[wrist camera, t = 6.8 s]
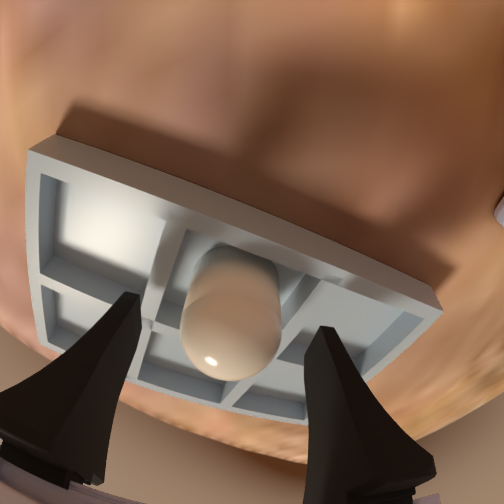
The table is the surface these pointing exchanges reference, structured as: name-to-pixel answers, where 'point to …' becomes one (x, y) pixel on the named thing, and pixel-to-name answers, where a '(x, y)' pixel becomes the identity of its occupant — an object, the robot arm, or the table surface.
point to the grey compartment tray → (181, 269)
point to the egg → (232, 314)
